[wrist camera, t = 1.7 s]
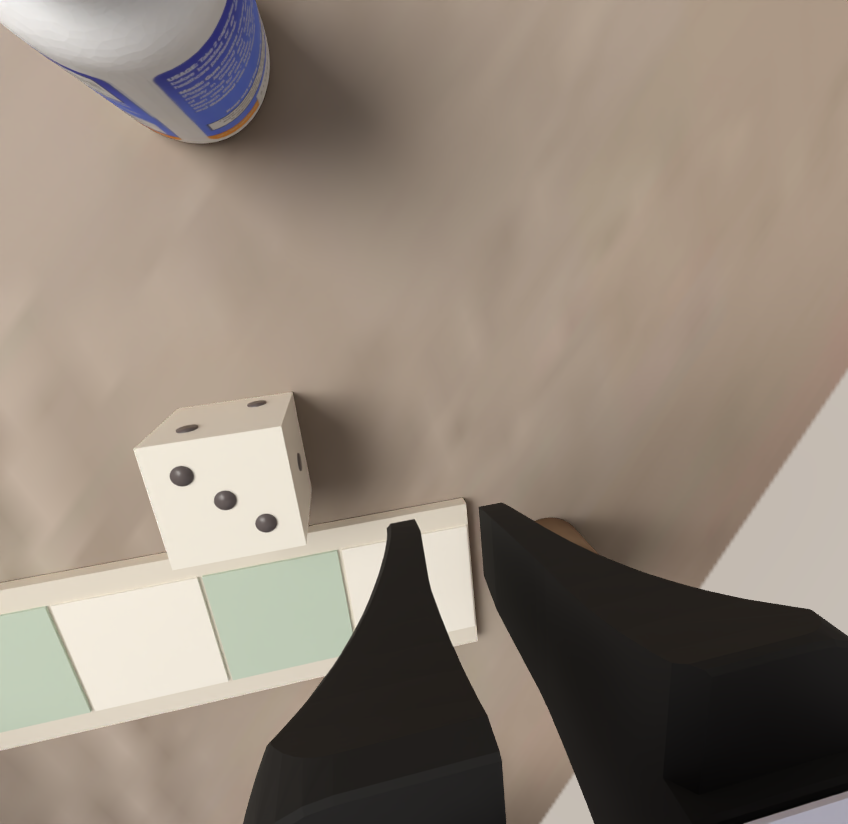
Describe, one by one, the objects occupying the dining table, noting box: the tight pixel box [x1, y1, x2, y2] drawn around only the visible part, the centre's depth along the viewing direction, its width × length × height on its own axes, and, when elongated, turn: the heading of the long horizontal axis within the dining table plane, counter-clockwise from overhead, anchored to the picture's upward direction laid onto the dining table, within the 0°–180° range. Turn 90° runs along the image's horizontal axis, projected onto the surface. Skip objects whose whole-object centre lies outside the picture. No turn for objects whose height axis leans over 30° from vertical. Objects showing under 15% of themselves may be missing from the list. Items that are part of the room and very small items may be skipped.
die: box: [133, 392, 312, 570], centre depth 18 cm, size 5×4×5 cm
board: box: [0, 498, 478, 751], centre depth 21 cm, size 8×24×1 cm, turn 96°
